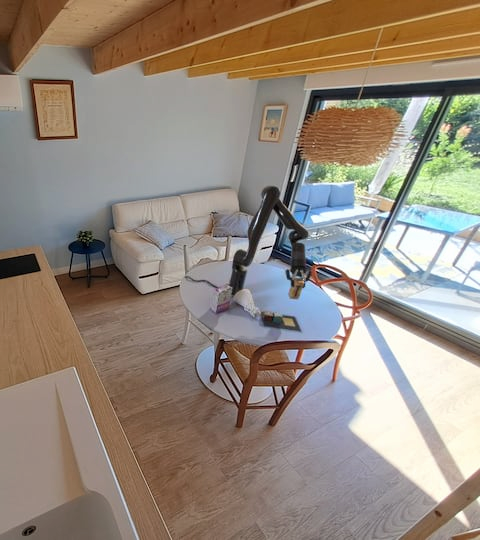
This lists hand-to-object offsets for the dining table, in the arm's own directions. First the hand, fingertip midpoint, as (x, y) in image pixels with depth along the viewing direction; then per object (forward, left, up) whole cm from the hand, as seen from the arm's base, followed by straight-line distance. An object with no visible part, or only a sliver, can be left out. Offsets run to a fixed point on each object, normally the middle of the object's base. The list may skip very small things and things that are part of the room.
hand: (297, 287), depth 167 cm
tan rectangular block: (0, +2, -8) cm, 8 cm away
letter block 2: (-8, -6, -22) cm, 24 cm away
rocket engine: (-25, +2, -22) cm, 33 cm away
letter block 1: (-13, -6, -22) cm, 26 cm away
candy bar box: (-41, -2, -22) cm, 46 cm away
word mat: (-6, -6, -22) cm, 24 cm away
